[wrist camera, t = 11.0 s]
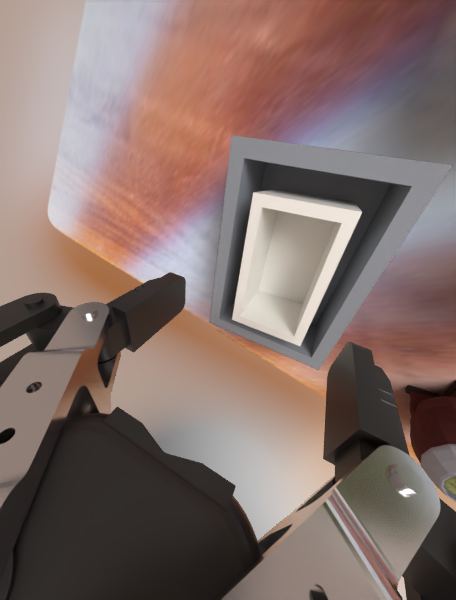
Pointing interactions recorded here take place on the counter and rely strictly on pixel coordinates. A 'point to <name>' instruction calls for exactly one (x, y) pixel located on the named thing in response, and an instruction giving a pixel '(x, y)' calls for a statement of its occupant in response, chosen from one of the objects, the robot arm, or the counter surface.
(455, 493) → the mate gourd
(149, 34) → the counter surface
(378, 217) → the slate crate
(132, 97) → the counter surface
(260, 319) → the white crate
